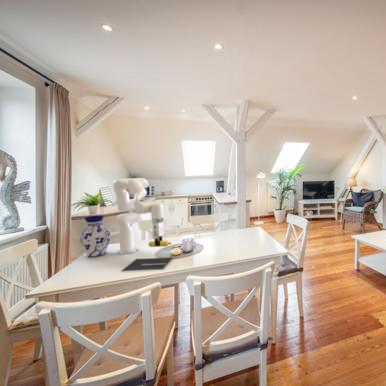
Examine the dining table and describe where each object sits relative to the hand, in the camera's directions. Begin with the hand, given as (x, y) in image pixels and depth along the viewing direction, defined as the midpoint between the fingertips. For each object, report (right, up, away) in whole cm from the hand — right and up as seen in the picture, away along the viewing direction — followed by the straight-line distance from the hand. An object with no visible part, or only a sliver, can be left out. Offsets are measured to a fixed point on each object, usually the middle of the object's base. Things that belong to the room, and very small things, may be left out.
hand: (158, 244), depth 163 cm
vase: (-56, -11, +13) cm, 58 cm away
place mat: (-4, -13, -5) cm, 14 cm away
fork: (+1, -13, -7) cm, 14 cm away
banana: (0, -1, 0) cm, 1 cm away
